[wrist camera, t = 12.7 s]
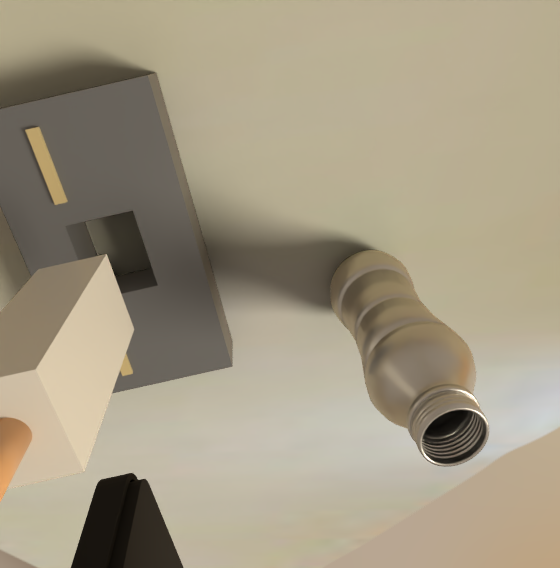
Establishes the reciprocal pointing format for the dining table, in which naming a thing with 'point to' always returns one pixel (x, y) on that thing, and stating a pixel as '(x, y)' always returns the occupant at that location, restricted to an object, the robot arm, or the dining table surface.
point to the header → (110, 201)
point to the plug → (58, 369)
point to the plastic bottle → (410, 358)
